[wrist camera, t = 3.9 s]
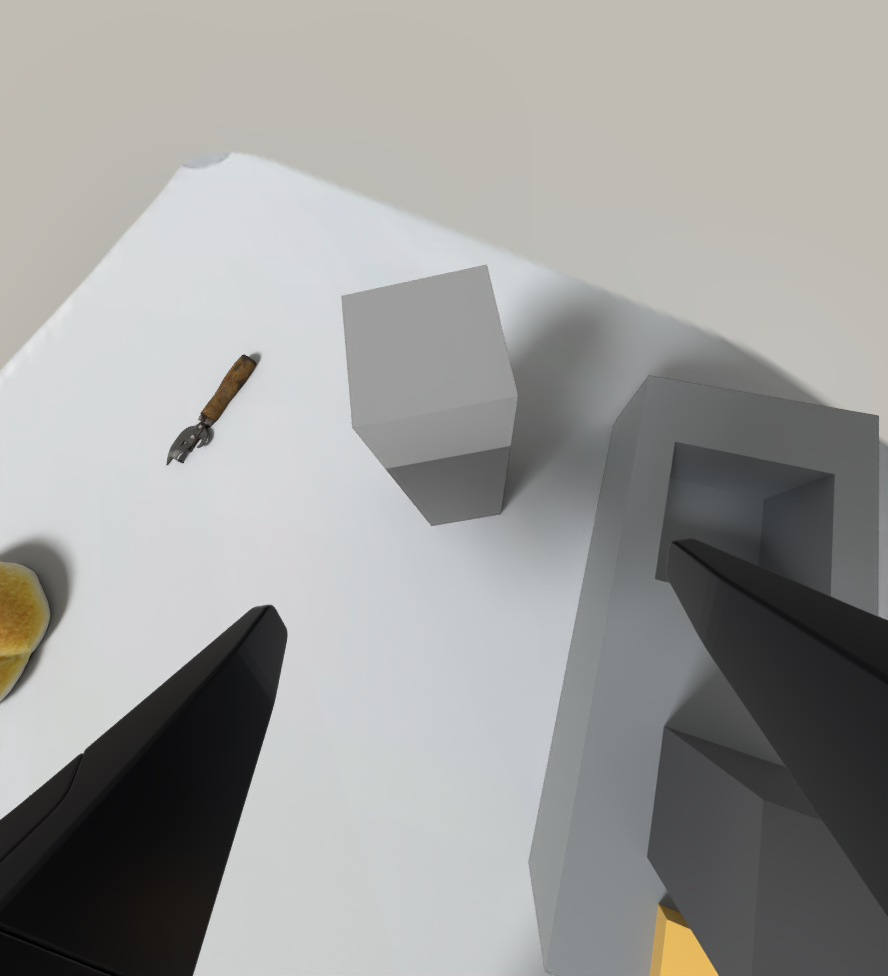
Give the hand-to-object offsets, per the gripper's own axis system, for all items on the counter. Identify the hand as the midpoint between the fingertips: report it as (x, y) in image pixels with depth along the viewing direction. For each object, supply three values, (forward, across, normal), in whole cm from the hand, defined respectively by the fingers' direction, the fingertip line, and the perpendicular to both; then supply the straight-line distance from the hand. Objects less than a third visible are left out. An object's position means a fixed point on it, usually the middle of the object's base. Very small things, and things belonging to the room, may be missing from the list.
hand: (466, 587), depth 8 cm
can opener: (+19, +16, -1) cm, 25 cm away
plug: (+13, 0, +4) cm, 14 cm away
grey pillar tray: (+6, -9, +11) cm, 15 cm away
